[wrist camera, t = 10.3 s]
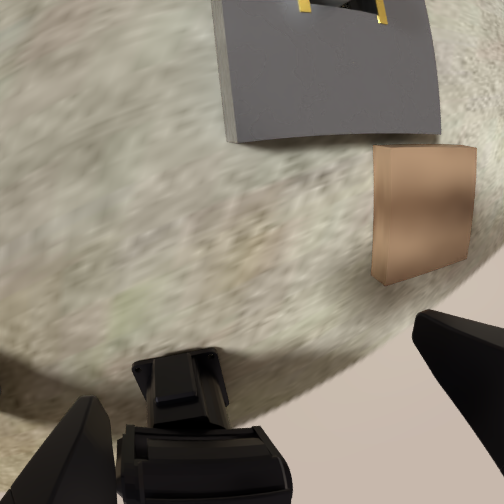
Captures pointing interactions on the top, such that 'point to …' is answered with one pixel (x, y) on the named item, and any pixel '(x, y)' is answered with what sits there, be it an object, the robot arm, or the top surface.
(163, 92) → the top surface
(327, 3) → the white peg
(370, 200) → the top surface
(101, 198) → the top surface
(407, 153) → the brown square slab
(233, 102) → the plate
